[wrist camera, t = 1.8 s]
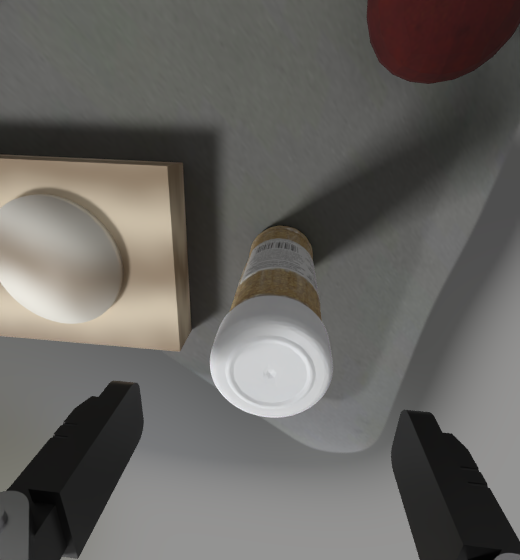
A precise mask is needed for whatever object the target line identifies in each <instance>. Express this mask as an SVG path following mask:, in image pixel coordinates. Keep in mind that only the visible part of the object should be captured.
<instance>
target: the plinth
mask: <svg viewBox="0 0 520 560" xmlns="http://www.w3.org/2000/svg"><path fill="white" fill-rule="evenodd" d="M190 332H191V312H190V293H189V273H188V254H187V235H186V215H185V196H184V176H183V163H179V162H157V161H135V160H113V159H91V158H69V157H47V156H25V155H3V154H0V336H7V337H19V338H30V339H43V340H53V341H66V342H76V343H88V344H99V345H111V346H122V347H134V348H145V349H157V350H168V351H181V349H182V347H183V345H184V343H185V341H186V339H187V338H188V336H189V334H190Z"/></svg>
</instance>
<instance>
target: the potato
mask: <svg viewBox="0 0 520 560" xmlns="http://www.w3.org/2000/svg"><path fill="white" fill-rule="evenodd" d="M367 23H368V29H369V36H370V43H371V45H372V47H373V49H374V51H375V54H376V56H377V58H378V60H379V62H380V63H381V64H382V65H383V66H384V67H385V68H386V69H387V70H388V71H390V72H391V73H392V74H393V75H395V76H398V77H400V78H402V79H405V80H407V81H410V82H418V83H426V84H430V83H436V82H442V81H447V80H453V79H456V78H458V77H460V76H463V75H465V74H467V73H469V72H472V71H474V70H475V69H477V68H478V67H479V66H481V65H482V64H483V63H485V62H486V61H487V60H489V59H490V58H491V57H493V56H494V55H495V54H496V53H497V51H498V50H499V49H500V48H501V47H502V46H503V45H504V44H505V43H506V42H507V41H508V40H509V39H510V37H511V36H512V35H513V33H514V32H515V30H516V28H517V27H518V25H519V23H520V0H368V4H367Z"/></svg>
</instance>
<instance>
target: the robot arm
mask: <svg viewBox="0 0 520 560" xmlns="http://www.w3.org/2000/svg"><path fill="white" fill-rule="evenodd" d="M143 423H144V420H143V412H142V404H141V395H140V388H139V385H138V384H137V383H133V382H122V381H112V382H110V383H109V385H108V386H107V387H106V388H105V389H104V391H103V392H102V393H101V395H100V396H99V397H95V396H92V397H90V398H89V399H87V400H86V401H85V402H83V403H82V404H80V405H79V406H77V407H76V408H75V409H74V410H73V411H72V413H71V414H70V415H69V416H68V417H67V419H66V420H65V421H64V422H63V425H61V426H60V427H59V428H58V429H57V431H56V432H55V433H54V434H53V438H50V439H49V440H48V442H47V443H46V444H45V445H44V446H43V448H42V449H41V450H40V451H39V453H38V454H37V455H36V456H35V457H34V458H33V460H32V461H31V462H30V463H29V465H28V466H27V467H26V468H25V469H24V471H23V472H22V473H21V474H20V476H19V477H18V478H17V479H16V480H15V481H14V483H13V484H12V485H11V486H10V487H9V488H8V489H7V491H4V492H0V560H60V559H61V557H70V558H77V559H78V558H79V556H80V554H81V552H82V550H83V548H84V546H85V544H86V542H87V540H88V539H89V537H90V535H91V533H92V531H93V529H94V527H95V525H96V523H97V521H98V519H99V517H100V515H101V514H102V512H103V510H104V508H105V506H106V504H107V502H108V500H109V498H110V496H111V494H112V492H113V490H114V488H115V487H116V485H117V483H118V481H119V479H120V477H121V475H122V473H123V471H124V469H125V467H126V466H127V464H128V462H129V460H130V458H131V456H132V454H133V452H134V450H135V448H136V446H137V444H138V442H139V440H140V438H141V435H142V431H143ZM391 461H392V468H393V472H394V475H395V479H396V482H397V485H398V489H399V492H400V495H401V499H402V502H403V505H404V508H405V512H406V515H407V519H408V522H409V525H410V529H411V532H412V535H413V538H414V542H415V545H416V548H417V552H418V555H419V559H420V560H520V541H519V539H518V538H517V536H516V534H515V532H514V531H513V529H512V527H511V525H510V523H509V522H508V520H507V518H506V516H505V514H504V513H503V511H502V509H501V507H500V506H499V504H498V502H497V500H496V498H495V497H494V495H493V493H492V491H491V490H490V488H488V487H487V483H486V481H485V479H484V478H483V475H482V474H481V472H479V470H478V467H477V465H476V463H475V461H474V460H473V458H472V456H471V454H470V452H469V451H468V449H466V447H465V446H464V445H463V444H461V442H460V441H458V440H457V439H456V437H455V436H453V434H449V433H442V431H441V429H440V427H439V425H438V423H437V421H436V419H435V417H434V416H433V414H432V413H430V412H421V411H411V410H403V411H402V412H401V414H400V418H399V421H398V426H397V429H396V433H395V437H394V441H393V445H392V451H391Z"/></svg>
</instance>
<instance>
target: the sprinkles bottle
mask: <svg viewBox="0 0 520 560" xmlns="http://www.w3.org/2000/svg"><path fill="white" fill-rule="evenodd" d="M210 370H211V375H212V378H213V381H214V383H215V385H216V387H217V388H218V390H219V391H220V392H221V394H222V395H223V396H224V397H225V398H226V399H227V400H228V401H229V402H230V403H232V404H233V405H234V406H236V407H238V408H240V409H241V410H243V411H245V412H248V413H251V414H254V415H258V416H263V417H273V418H274V417H286V416H291V415H295V414H298V413H300V412H303V411H305V410H306V409H308V408H310V407H312V406H313V405H314V404H315V403H317V402H318V401H319V400H320V399H321V398H322V396H323V395H324V394H325V392H326V391H327V389H328V387H329V385H330V382H331V379H332V373H333V361H332V353H331V347H330V341H329V336H328V333H327V330H326V328H325V326H324V324H323V322H322V320H321V312H320V299H319V293H318V287H317V280H316V274H315V268H314V263H313V251H312V247H311V244H310V243H309V241H308V239H307V238H306V237H305V235H304V234H303V233H301V232H300V231H298V230H297V229H295V228H292V227H288V226H275V227H270V228H268V229H266V230H265V231H263V232H262V233H260V234H259V235H258V236H257V237H256V239H255V240H254V242H253V243H252V246H251V251H250V256H249V259H248V262H247V264H246V265H245V268H244V270H243V273H242V276H241V278H240V281H239V285H238V288H237V291H236V294H235V298H234V300H233V303H232V306H231V310H230V312H229V313H228V314H227V315H226V316H225V318H224V319H223V321H222V323H221V325H220V327H219V330H218V332H217V335H216V338H215V341H214V344H213V347H212V351H211V356H210Z"/></svg>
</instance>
